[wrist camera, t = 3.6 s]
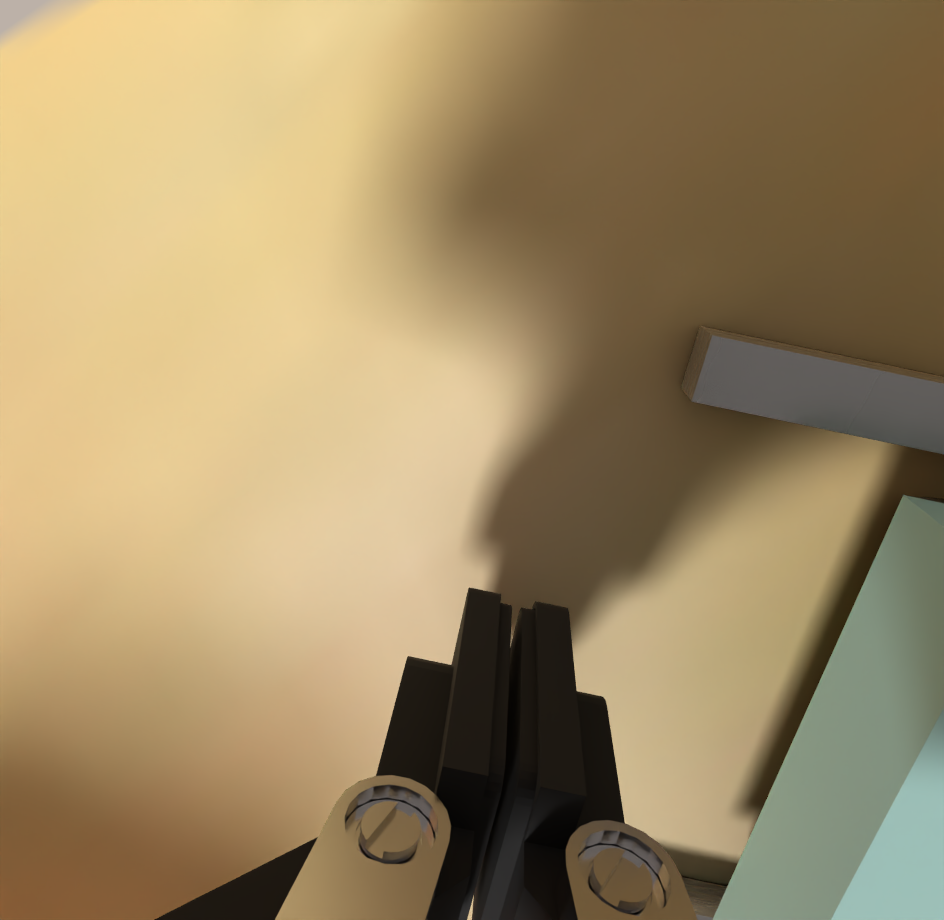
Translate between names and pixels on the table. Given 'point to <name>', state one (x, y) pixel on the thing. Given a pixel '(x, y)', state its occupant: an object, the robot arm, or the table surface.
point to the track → (810, 417)
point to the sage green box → (864, 757)
